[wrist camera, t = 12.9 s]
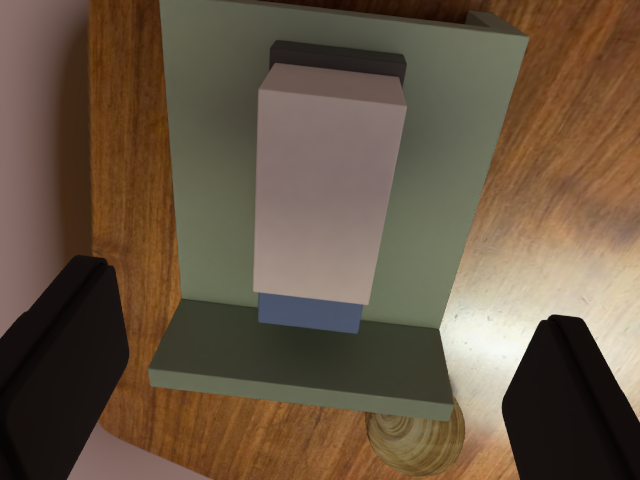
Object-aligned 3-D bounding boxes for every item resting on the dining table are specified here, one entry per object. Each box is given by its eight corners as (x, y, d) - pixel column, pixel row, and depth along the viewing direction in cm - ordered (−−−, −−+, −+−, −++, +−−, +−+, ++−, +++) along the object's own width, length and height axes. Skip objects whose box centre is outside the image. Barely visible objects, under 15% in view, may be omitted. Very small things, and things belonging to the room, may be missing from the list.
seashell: (438, 385, 43) (515, 426, 36) (401, 460, 42) (472, 517, 35) (364, 341, 38) (435, 379, 31) (320, 424, 37) (383, 482, 30)
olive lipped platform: (201, -21, 23) (98, 12, 14) (493, 13, 23) (581, 68, 14) (209, 254, 32) (149, 386, 23) (422, 279, 32) (448, 422, 23)
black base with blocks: (275, 39, 19) (252, 71, 15) (404, 54, 19) (417, 90, 15) (264, 283, 25) (246, 354, 21) (360, 295, 25) (360, 368, 21)
